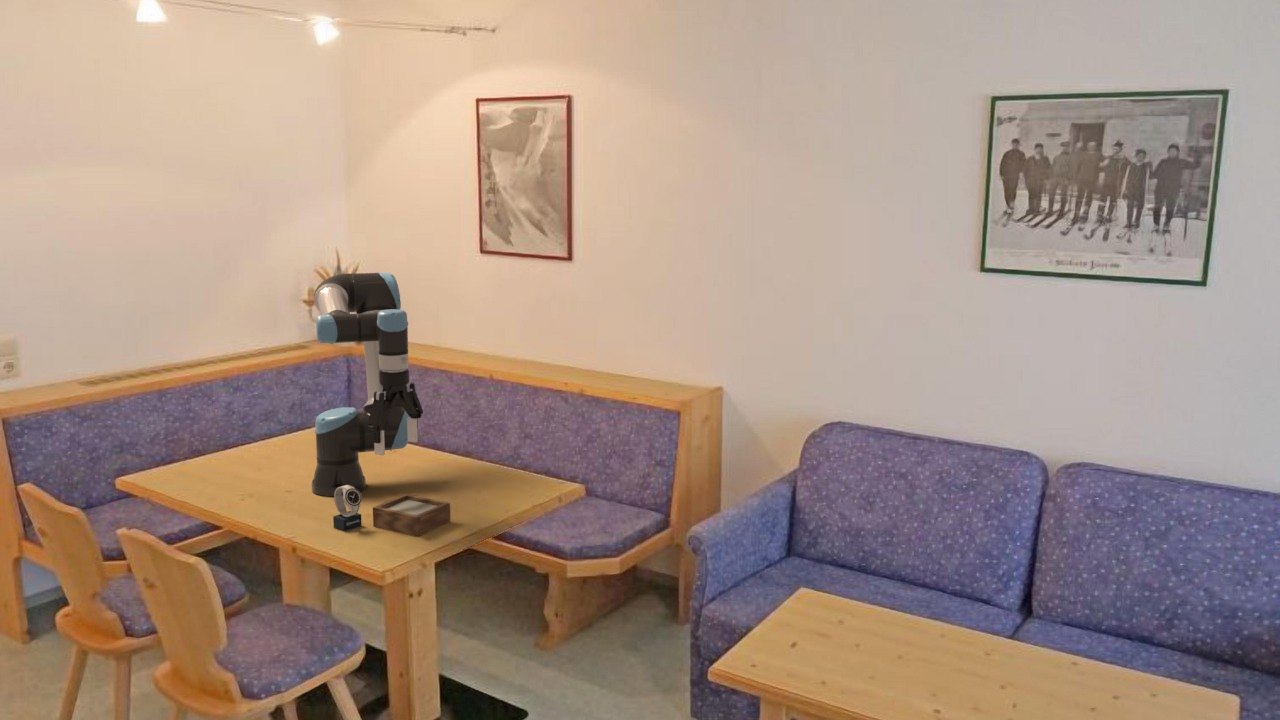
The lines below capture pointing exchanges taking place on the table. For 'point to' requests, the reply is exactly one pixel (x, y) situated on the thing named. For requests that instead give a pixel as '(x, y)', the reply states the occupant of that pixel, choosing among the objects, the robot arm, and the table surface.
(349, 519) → the watch
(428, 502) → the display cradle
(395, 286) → the robot arm
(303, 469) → the table surface
